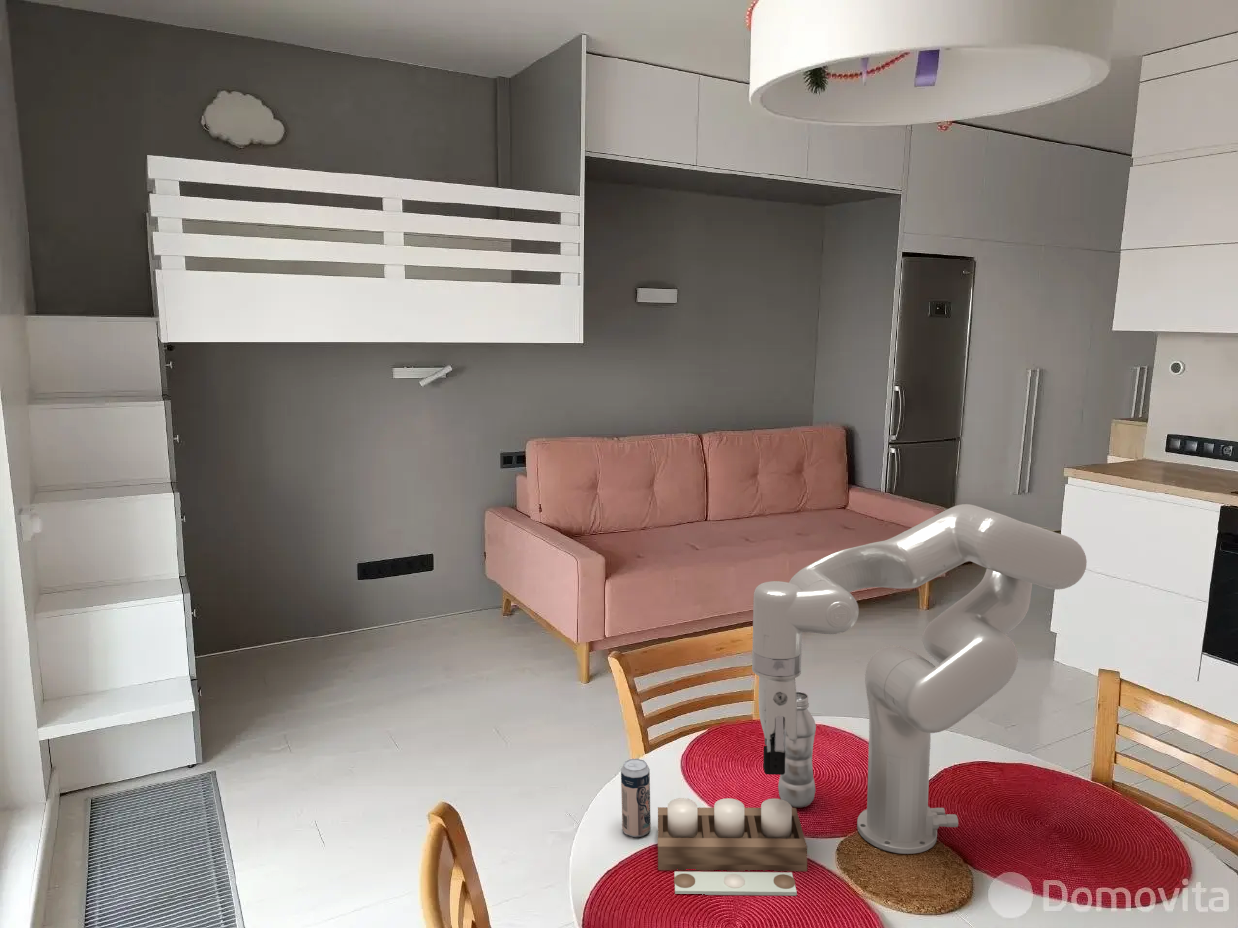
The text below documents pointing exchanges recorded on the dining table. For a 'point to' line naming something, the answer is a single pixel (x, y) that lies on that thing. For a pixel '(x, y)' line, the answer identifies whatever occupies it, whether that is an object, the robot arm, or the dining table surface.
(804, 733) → the plastic bottle
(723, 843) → the wooden compartment tray
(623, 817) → the beer can
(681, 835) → the button
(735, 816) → the button mid
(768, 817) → the button
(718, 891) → the card
